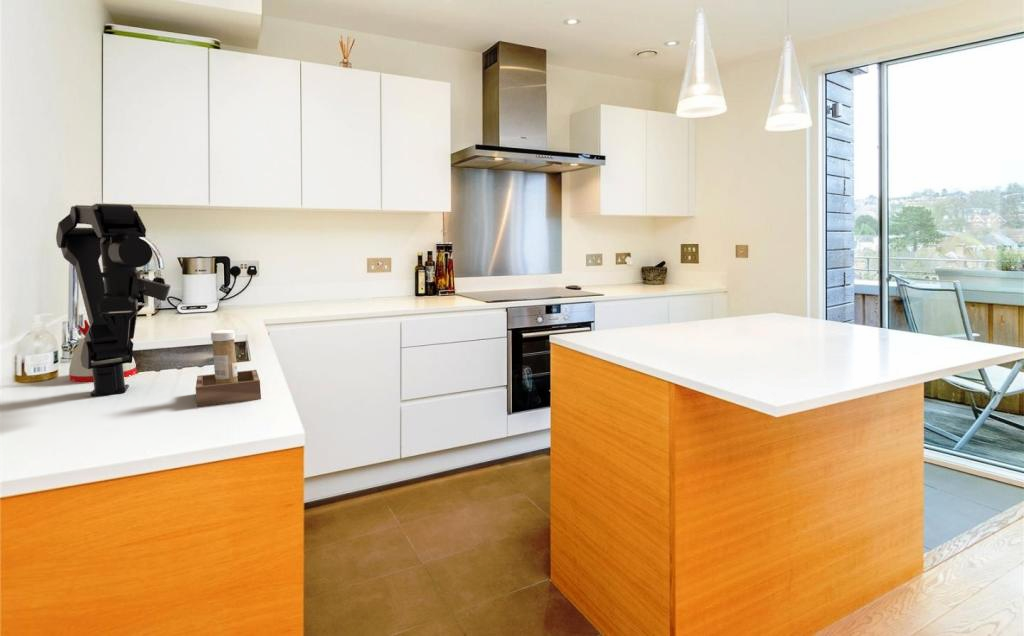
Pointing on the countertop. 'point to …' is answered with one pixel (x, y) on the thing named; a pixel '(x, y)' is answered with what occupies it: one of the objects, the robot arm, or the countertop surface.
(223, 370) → the sprinkles bottle
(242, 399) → the walnut crate
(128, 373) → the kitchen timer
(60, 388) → the countertop surface
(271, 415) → the countertop surface
